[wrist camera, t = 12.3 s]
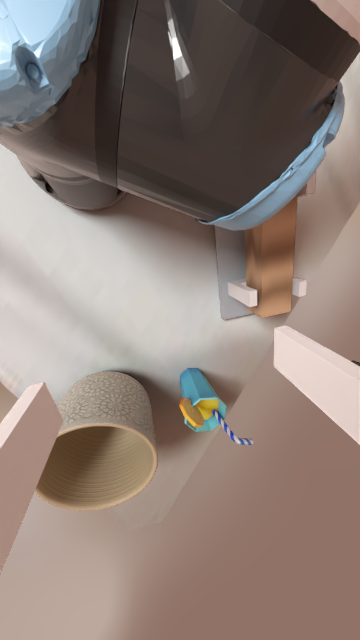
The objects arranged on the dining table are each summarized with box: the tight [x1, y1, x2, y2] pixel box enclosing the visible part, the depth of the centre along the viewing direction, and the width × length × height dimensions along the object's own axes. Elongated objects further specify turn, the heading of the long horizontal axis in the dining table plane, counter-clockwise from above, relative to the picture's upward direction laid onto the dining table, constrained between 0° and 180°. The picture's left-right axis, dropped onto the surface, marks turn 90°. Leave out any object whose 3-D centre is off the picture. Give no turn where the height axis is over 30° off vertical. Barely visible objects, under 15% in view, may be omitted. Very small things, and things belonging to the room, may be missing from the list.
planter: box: [34, 371, 158, 511], centre depth 36 cm, size 17×17×15 cm
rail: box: [245, 195, 297, 318], centre depth 32 cm, size 20×5×5 cm, turn 8°
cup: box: [179, 368, 253, 445], centre depth 39 cm, size 14×8×15 cm, turn 62°
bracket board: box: [214, 171, 316, 320], centre depth 33 cm, size 26×12×9 cm, turn 8°
